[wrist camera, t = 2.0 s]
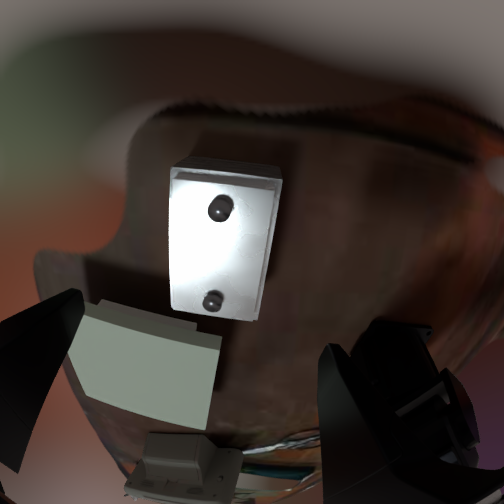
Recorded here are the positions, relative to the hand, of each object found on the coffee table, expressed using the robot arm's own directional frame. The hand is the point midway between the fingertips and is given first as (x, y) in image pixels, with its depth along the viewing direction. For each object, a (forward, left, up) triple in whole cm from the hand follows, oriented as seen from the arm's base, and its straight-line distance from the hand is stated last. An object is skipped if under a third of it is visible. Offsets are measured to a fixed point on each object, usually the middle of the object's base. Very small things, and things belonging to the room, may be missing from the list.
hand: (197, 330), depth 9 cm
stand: (+5, +12, -9) cm, 15 cm away
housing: (0, 0, -9) cm, 9 cm away
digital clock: (+1, +34, -9) cm, 35 cm away
